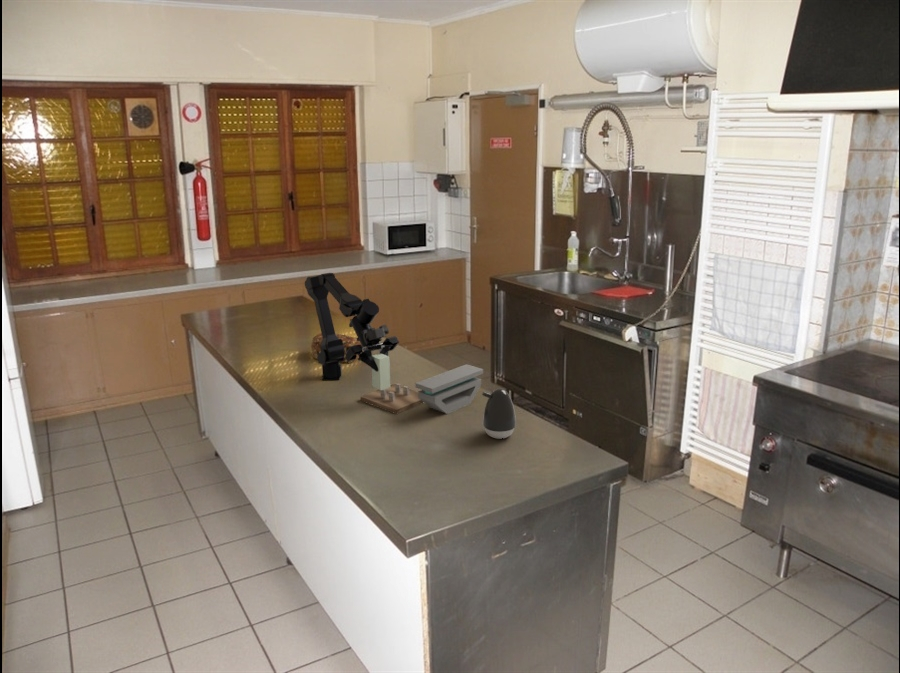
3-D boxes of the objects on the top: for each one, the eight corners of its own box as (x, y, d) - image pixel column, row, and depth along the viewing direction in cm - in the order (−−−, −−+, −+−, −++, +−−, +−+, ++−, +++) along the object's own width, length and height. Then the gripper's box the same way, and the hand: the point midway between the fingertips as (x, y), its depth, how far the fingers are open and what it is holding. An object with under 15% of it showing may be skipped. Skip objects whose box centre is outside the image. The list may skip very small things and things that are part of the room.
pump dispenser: (479, 429, 218) (480, 383, 214) (512, 427, 219) (513, 382, 215) (484, 443, 209) (484, 396, 204) (518, 441, 209) (519, 394, 205)
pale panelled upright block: (381, 382, 240) (380, 352, 236) (390, 387, 235) (389, 356, 232) (371, 385, 237) (370, 355, 234) (380, 390, 233) (379, 359, 230)
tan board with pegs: (396, 414, 230) (396, 401, 229) (360, 400, 241) (360, 388, 240) (429, 400, 241) (429, 387, 240) (393, 387, 253) (393, 376, 251)
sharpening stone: (432, 420, 225) (432, 388, 222) (416, 413, 230) (415, 383, 227) (483, 398, 242) (483, 369, 239) (466, 392, 248) (466, 364, 244)
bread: (311, 359, 284) (309, 336, 281) (324, 352, 294) (323, 329, 291) (351, 364, 278) (350, 341, 275) (364, 356, 287) (363, 333, 284)
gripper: (348, 323, 227) (368, 363, 222) (395, 313, 238) (415, 351, 233) (337, 340, 235) (356, 380, 230) (383, 330, 246) (402, 367, 241)
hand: (383, 369), depth 233 cm, fingers closed on pale panelled upright block, 4 cm apart
